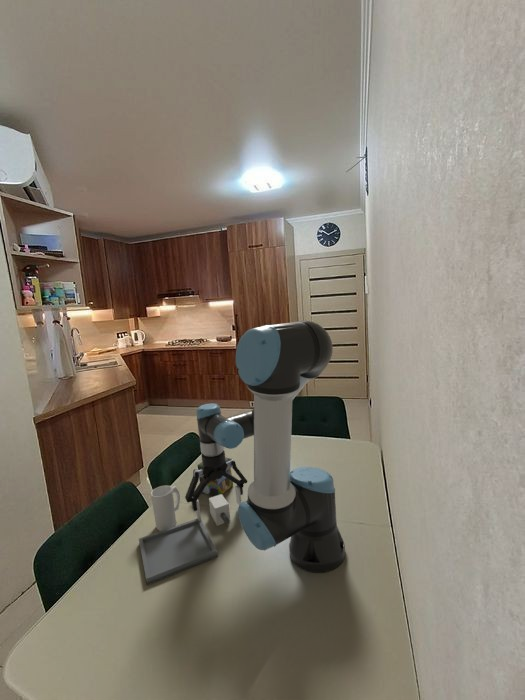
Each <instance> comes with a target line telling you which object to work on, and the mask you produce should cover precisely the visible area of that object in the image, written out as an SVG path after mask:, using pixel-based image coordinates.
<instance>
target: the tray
mask: <svg viewBox="0 0 525 700" xmlns="http://www.w3.org/2000/svg"><path fill="white" fill-rule="evenodd" d="M138 542H139V549H140V553H141V559H142V565H143V569H144V570H143V571H144V575H145V576H144V577H145V581H146V586H149V585H151V584H154V583H156V582H159V581H161V580H163V579H166V578H168V577H169V578H170V577H171V576H174V575H175V574H176V575H177V574H179V573H181V572H184V571H186V570H188V569H191V568H193V567H195V566H198V565H200V564H203V563H205V562H208V561H211V560H213V559H216V558H218V550H217V548H216V546H215V544H214V542H213V540H212V539H211V536H210V535H209V533H208V531H207V529H206V527H205V525H204V522H203V521H202V519H201V520H200V521H199V520H198V518H197V517H196V518H194V519H192V520H190V521H186V522H183V523H180V524H177V525H175V526H174V527H171V528H168V529H165V530H163V531H157V532H154V533H152V534H148V535H146V536H143V537H140V538H138Z"/></svg>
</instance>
